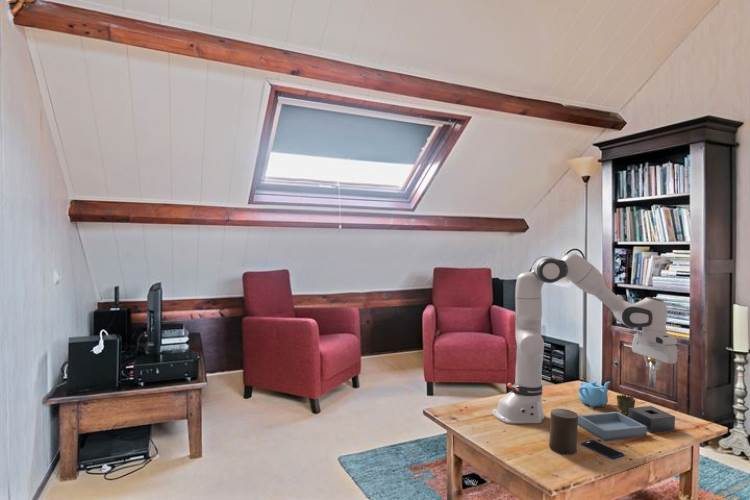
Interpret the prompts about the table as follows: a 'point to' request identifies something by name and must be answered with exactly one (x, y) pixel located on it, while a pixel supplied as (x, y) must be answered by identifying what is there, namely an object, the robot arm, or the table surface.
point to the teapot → (593, 394)
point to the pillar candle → (563, 431)
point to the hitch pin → (652, 372)
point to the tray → (612, 426)
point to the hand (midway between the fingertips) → (652, 368)
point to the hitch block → (653, 419)
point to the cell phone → (603, 449)
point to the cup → (625, 403)
